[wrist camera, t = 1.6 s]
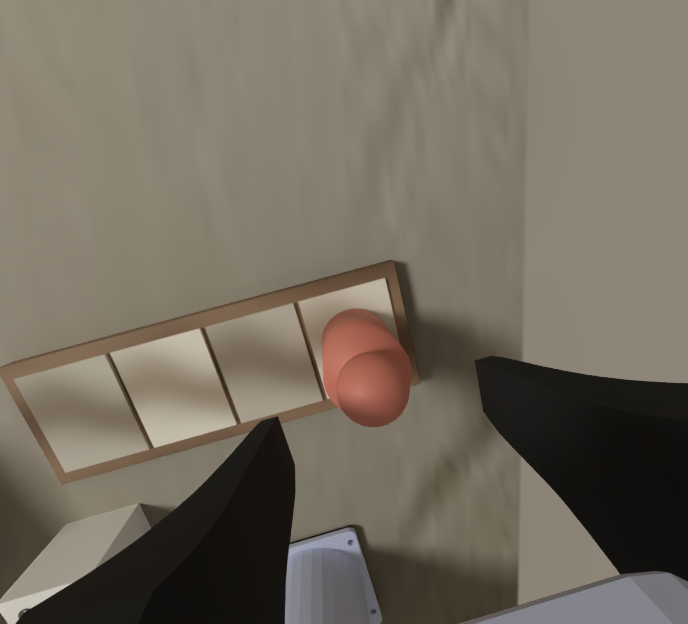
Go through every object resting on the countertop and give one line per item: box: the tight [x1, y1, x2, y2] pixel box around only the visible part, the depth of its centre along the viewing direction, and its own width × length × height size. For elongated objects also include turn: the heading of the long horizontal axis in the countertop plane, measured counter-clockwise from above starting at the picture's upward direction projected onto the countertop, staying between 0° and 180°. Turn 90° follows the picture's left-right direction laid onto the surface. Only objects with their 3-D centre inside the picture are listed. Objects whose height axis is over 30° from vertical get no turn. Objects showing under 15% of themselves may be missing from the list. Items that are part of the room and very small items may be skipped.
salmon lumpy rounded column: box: [322, 308, 412, 427], centre depth 15 cm, size 4×4×8 cm
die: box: [0, 503, 151, 624], centre depth 20 cm, size 5×5×5 cm
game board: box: [0, 260, 420, 484], centre depth 19 cm, size 8×23×1 cm, turn 105°
